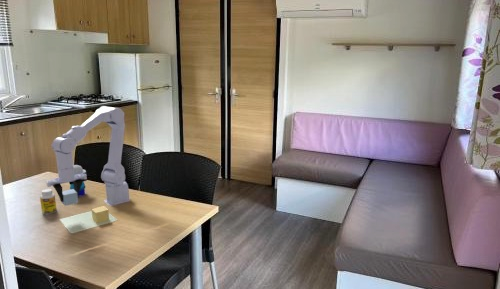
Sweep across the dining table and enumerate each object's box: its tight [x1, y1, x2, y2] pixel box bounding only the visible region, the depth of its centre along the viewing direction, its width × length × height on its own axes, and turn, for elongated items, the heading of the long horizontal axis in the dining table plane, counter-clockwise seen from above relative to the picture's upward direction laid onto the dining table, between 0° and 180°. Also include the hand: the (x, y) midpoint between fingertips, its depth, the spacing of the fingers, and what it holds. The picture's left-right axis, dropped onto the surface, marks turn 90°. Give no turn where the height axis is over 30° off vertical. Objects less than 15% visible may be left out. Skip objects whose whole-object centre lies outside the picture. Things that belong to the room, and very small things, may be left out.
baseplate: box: [59, 210, 118, 234], centre depth 154 cm, size 18×16×1 cm
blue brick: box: [61, 189, 79, 207], centre depth 152 cm, size 5×5×4 cm
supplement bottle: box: [39, 188, 57, 215], centre depth 160 cm, size 6×6×10 cm
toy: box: [68, 164, 88, 197], centre depth 179 cm, size 8×9×15 cm
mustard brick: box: [91, 205, 110, 223], centre depth 153 cm, size 5×5×4 cm
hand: (69, 199), depth 152 cm, fingers closed on blue brick, 5 cm apart
